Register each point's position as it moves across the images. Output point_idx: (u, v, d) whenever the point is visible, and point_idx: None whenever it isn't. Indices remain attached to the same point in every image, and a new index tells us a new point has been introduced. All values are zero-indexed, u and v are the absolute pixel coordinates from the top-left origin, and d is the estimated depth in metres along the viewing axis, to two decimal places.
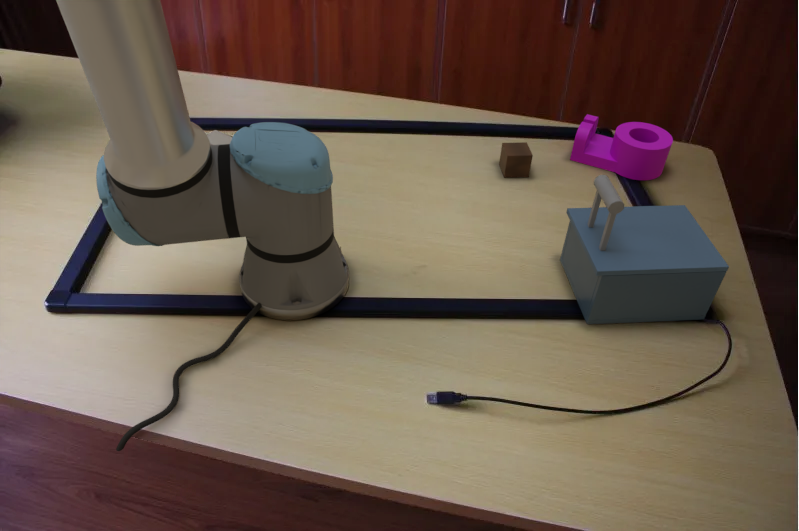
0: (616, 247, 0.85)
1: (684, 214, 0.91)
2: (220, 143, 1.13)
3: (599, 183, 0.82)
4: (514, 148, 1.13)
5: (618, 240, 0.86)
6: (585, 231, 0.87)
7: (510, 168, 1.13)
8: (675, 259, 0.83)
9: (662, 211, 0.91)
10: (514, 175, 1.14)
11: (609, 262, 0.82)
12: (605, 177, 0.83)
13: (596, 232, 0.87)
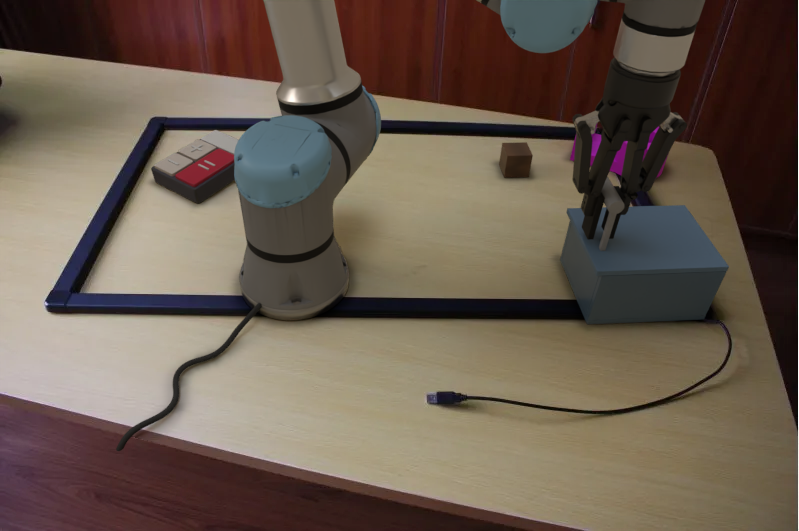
0: (616, 247, 0.85)
1: (684, 214, 0.91)
2: (220, 143, 1.13)
3: None
4: (514, 148, 1.13)
5: (618, 240, 0.86)
6: None
7: (510, 168, 1.13)
8: (675, 259, 0.83)
9: (662, 211, 0.91)
10: (514, 175, 1.14)
11: (609, 262, 0.82)
12: None
13: (596, 232, 0.87)
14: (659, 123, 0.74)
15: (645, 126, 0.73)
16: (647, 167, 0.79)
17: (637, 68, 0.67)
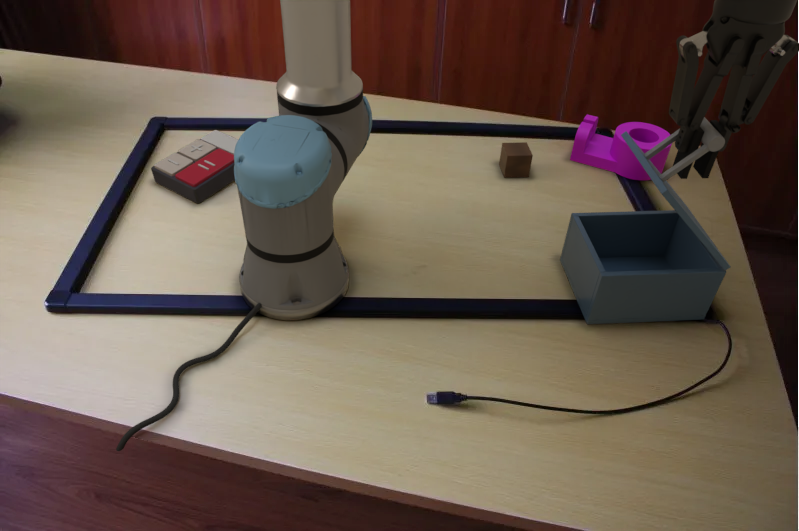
0: (668, 187, 0.79)
1: (689, 210, 0.90)
2: (220, 143, 1.13)
3: None
4: (514, 148, 1.13)
5: (666, 184, 0.80)
6: (645, 157, 0.80)
7: (510, 168, 1.13)
8: (703, 231, 0.80)
9: None
10: (514, 175, 1.14)
11: None
12: None
13: (651, 165, 0.80)
14: (771, 44, 0.69)
15: (758, 47, 0.68)
16: (751, 97, 0.74)
17: None
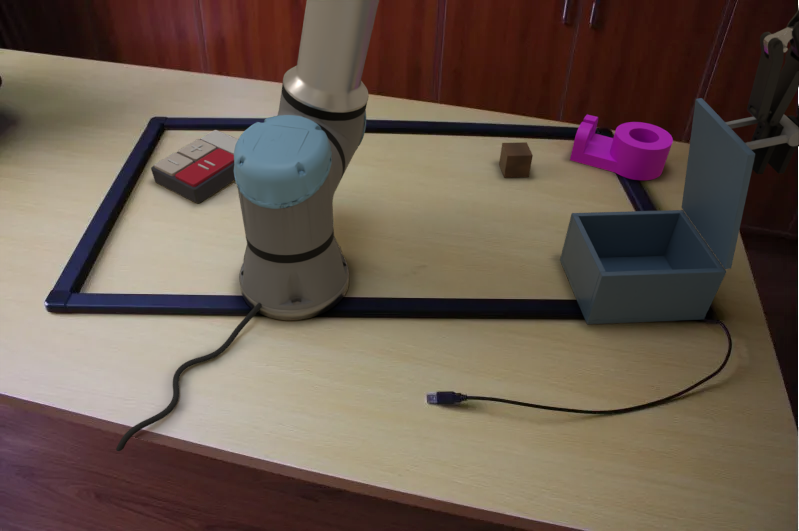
0: None
1: None
2: (220, 143, 1.13)
3: None
4: (514, 148, 1.13)
5: None
6: None
7: (510, 168, 1.13)
8: None
9: None
10: (514, 175, 1.14)
11: None
12: None
13: None
14: None
15: None
16: None
17: None
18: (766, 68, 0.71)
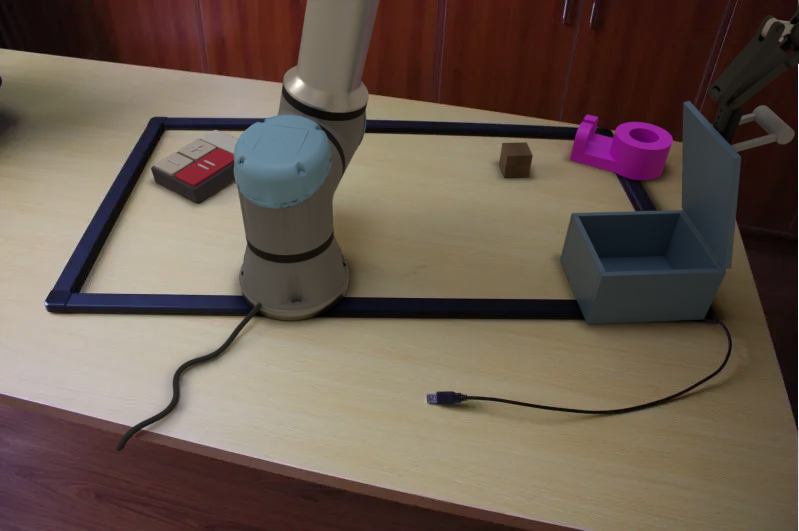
0: None
1: None
2: (220, 143, 1.13)
3: (771, 111, 0.77)
4: (514, 148, 1.13)
5: None
6: None
7: (510, 168, 1.13)
8: None
9: None
10: (514, 175, 1.14)
11: None
12: None
13: None
14: None
15: None
16: None
17: None
18: (754, 50, 0.70)
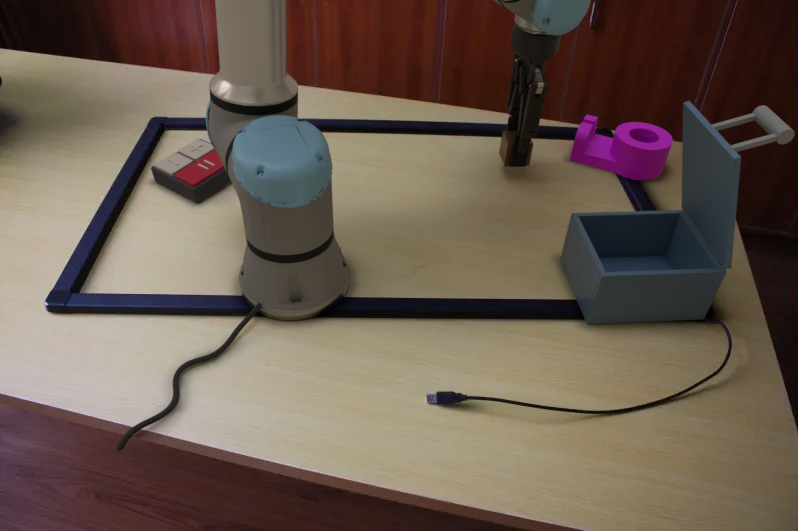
0: None
1: None
2: None
3: (771, 111, 0.77)
4: None
5: None
6: None
7: (510, 156, 1.11)
8: None
9: None
10: None
11: None
12: None
13: None
14: None
15: None
16: None
17: None
18: (538, 103, 1.01)
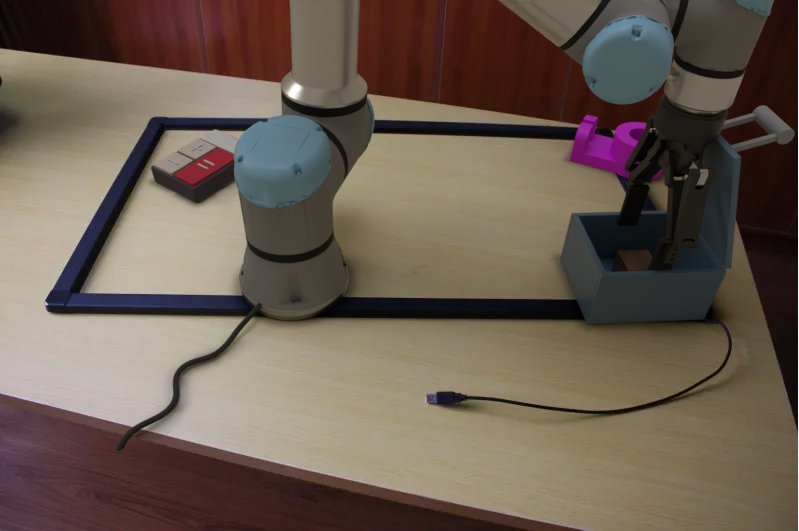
0: None
1: None
2: (220, 142, 1.13)
3: (771, 111, 0.77)
4: (634, 258, 0.90)
5: None
6: None
7: None
8: None
9: None
10: None
11: None
12: None
13: None
14: None
15: None
16: (645, 159, 0.87)
17: (731, 104, 0.72)
18: (700, 198, 0.74)
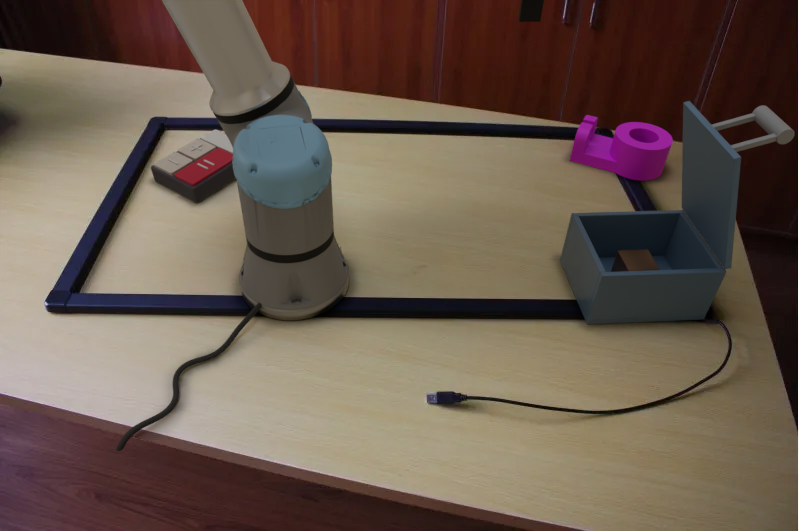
0: None
1: None
2: (220, 142, 1.13)
3: (771, 111, 0.77)
4: (634, 258, 0.90)
5: None
6: None
7: None
8: None
9: None
10: None
11: None
12: None
13: None
14: None
15: None
16: None
17: None
18: None
